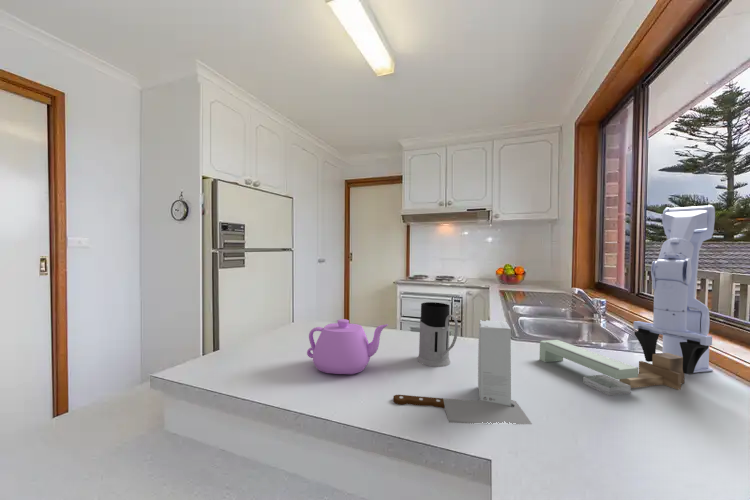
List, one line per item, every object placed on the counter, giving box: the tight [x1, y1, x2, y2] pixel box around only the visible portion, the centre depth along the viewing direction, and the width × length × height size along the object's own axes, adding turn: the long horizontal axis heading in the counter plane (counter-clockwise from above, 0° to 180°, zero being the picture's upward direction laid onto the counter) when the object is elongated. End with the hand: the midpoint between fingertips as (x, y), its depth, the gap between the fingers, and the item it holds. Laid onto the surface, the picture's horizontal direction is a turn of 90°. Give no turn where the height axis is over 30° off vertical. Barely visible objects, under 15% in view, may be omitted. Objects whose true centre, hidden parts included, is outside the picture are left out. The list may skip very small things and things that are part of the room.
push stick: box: [618, 352, 686, 391], centre depth 71 cm, size 16×8×6 cm, turn 105°
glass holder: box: [417, 301, 459, 368], centre depth 79 cm, size 9×14×15 cm, turn 21°
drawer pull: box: [539, 339, 639, 380], centre depth 76 cm, size 6×21×6 cm, turn 15°
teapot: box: [306, 318, 389, 376], centre depth 75 cm, size 20×13×12 cm, turn 85°
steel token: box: [582, 374, 632, 397], centre depth 68 cm, size 6×6×2 cm
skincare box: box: [477, 319, 512, 407], centre depth 63 cm, size 8×6×15 cm
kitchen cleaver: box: [392, 394, 533, 425], centre depth 56 cm, size 24×1×10 cm
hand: (668, 366), depth 73 cm, fingers open, 7 cm apart
